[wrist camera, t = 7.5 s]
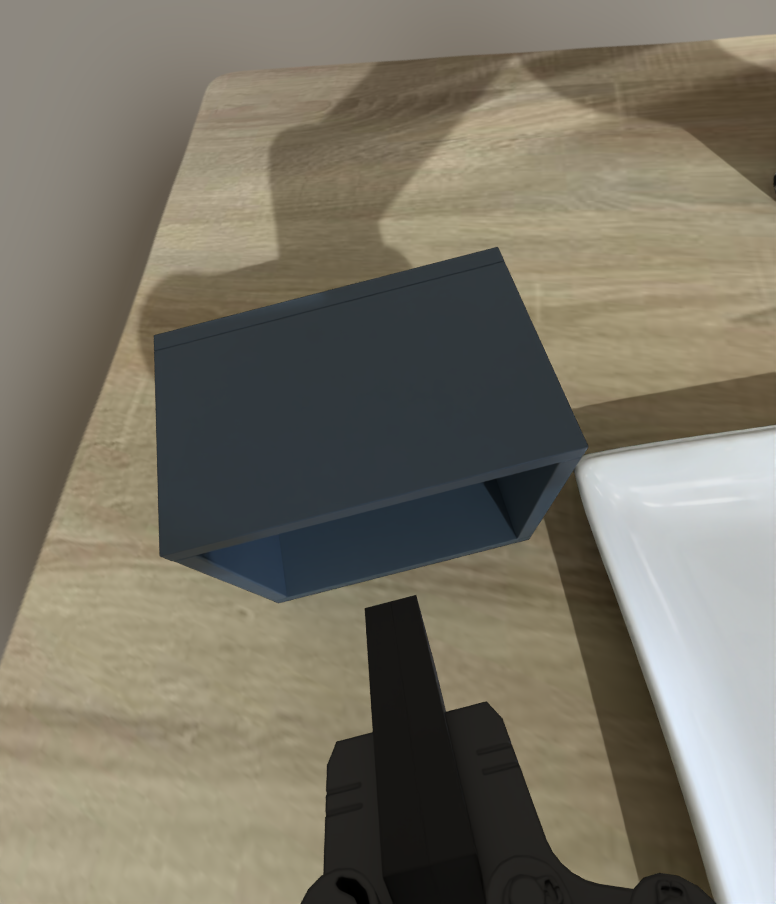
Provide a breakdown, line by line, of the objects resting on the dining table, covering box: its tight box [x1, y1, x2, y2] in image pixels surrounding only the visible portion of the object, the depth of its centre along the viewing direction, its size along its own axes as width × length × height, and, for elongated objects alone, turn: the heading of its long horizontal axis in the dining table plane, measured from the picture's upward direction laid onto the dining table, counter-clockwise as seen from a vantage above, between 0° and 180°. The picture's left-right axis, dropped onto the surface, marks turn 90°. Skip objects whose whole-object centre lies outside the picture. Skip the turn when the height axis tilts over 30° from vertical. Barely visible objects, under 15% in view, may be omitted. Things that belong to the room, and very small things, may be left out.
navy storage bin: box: [154, 247, 588, 603], centre depth 23 cm, size 9×14×12 cm, turn 103°
